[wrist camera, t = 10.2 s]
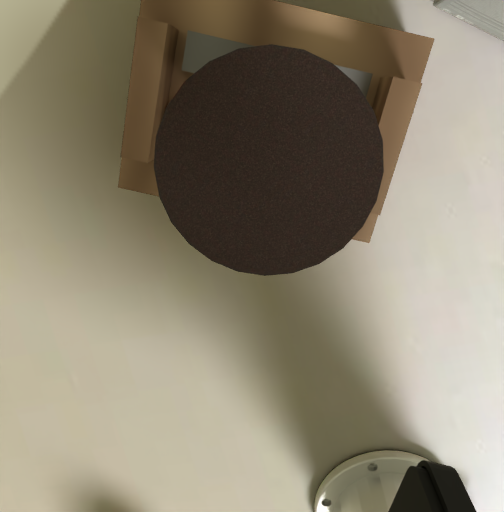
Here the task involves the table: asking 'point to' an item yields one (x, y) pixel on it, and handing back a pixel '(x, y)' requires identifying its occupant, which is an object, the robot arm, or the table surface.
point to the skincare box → (477, 14)
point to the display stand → (256, 34)
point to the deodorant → (268, 159)
